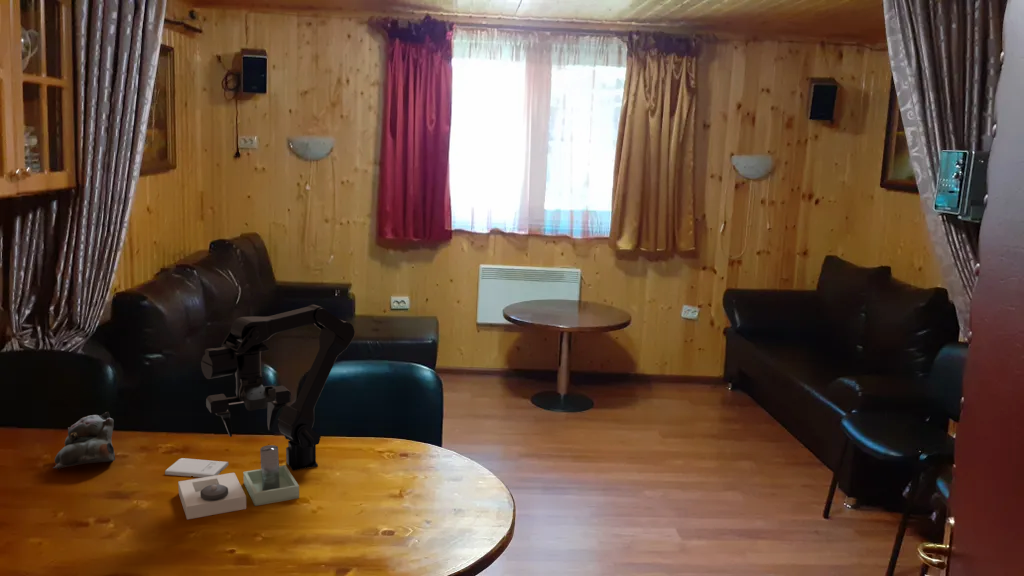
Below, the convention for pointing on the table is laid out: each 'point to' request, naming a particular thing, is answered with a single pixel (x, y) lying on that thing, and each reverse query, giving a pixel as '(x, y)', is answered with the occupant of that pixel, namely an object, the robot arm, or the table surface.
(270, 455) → the pin
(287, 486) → the tray
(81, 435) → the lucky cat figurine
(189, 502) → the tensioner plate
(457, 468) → the table surface
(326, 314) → the robot arm
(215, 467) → the external hard drive
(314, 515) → the table surface
